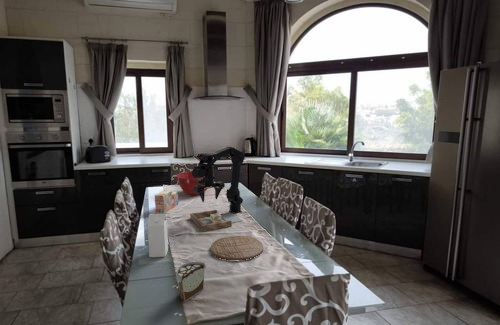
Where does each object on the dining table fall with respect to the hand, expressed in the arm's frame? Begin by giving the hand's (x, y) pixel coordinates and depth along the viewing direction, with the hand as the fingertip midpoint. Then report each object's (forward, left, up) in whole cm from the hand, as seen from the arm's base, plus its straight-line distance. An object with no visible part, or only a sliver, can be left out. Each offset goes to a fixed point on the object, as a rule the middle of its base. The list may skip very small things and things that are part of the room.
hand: (209, 200), depth 186 cm
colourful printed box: (+18, -36, -13) cm, 42 cm away
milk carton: (+37, +32, -13) cm, 50 cm away
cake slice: (+34, +69, -13) cm, 78 cm away
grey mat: (-12, +3, -12) cm, 18 cm away
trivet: (+3, +44, -13) cm, 46 cm away
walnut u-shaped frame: (+1, +3, -12) cm, 13 cm away
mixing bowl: (-11, -67, -13) cm, 69 cm away
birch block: (-2, +3, -12) cm, 13 cm away
